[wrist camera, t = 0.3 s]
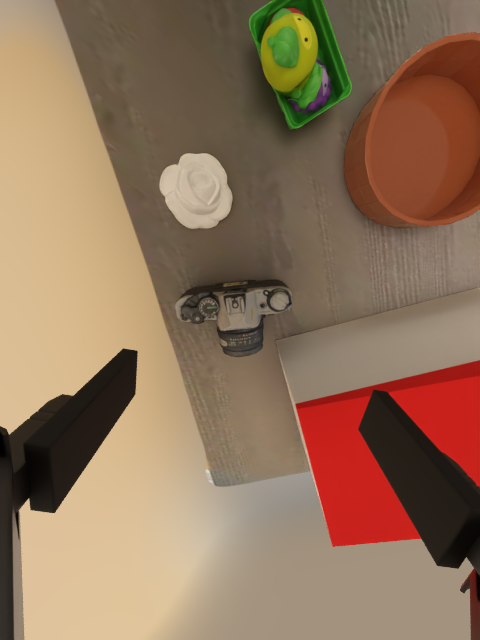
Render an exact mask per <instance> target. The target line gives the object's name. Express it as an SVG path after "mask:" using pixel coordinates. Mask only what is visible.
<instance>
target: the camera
mask: <svg viewBox="0 0 480 640" xmlns="http://www.w3.org/2000/svg"><path fill="white" fill-rule="evenodd" d="M291 306H292V293H291V290H290V289H289V288H288V287H287V285H286V284H285V283H283V282H282V281H280V280H265V281H255V280H246V281H243V282H233V283H221V284H216V285H215V286H207V287H195V288H193V289H190V290H187V291H186V292H185V293H184V294H183V295H182V296H181V297H180V298H179V299H178V300H177V303H176V304H175V311H176V315H177V317H178V318H179V319H180V320H182V321H187V322H192V323H195V324H199V323H202V322H204V320H216V325H217V332H218V335H219V337H220V345H221V347H222V348H223V352H224V353H225V354H227V355H230V356H233V357H243V356H249V355H252V354H255V353H257V352H258V351H260V350H261V349H262V347H263V344H262V342H263V318H265V315H266V314H267V315H274V314H275V313H281V312H284V311H286V310H288V311H289V310H290V307H291Z"/></svg>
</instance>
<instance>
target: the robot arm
mask: <svg viewBox="0 0 480 640" xmlns="http://www.w3.org/2000/svg"><path fill="white" fill-rule="evenodd" d="M136 371H137V351H135V350H129V349H122V350H121V351H120V352H119V353H118V354H117V355H116V356H115V357H114V358H113V359H112V360H111V361H110V362H109V363H108V364H107V365H106V366H104V367H103V368H102V369H101V370H100V371H99V372H98V373H97V374H96V375H95V376H94V377H93V378H92V379H91V380H90V381H89V382H88V383H86V384H85V385H84V386H83V387H82V388H81V389H80V390H79V391H78V392H77V393H76V394H75V395H74V396H70V395H63V394H62V395H60V396H58V397H56V398H54V399H52V400H50V401H48V402H47V403H46V404H45V405H44V406H43V407H41V408H40V409H39V411H38V412H36V413H34V414H33V415H32V416H31V417H30V419H27V420H26V421H25V422H24V423H23V424H22V425H20V426H19V427H18V428H17V429H16V430H14V432H12V433H11V434H10V435H9V434H8V432H7V429H5V428H3V427H1V426H0V640H24V622H23V593H22V564H21V537H20V514H19V509H20V508H21V507H22V506H23V504H24V503H25V502H26V501H27V499H28V498H29V499H30V508H31V510H35V511H42V512H49V513H55V512H56V510H57V509H58V507H59V506H60V504H61V503H62V501H63V500H64V498H65V497H66V495H67V494H68V492H69V491H70V490H71V488H72V486H73V485H74V484H75V482H76V481H77V479H78V478H79V476H80V475H81V473H82V472H83V470H84V469H85V468H86V466H87V465H88V463H89V462H90V460H91V459H92V457H93V456H94V454H95V453H96V451H97V450H98V448H99V447H100V445H101V444H102V442H103V441H104V439H105V438H106V436H107V435H108V434H109V432H110V431H111V429H112V428H113V426H114V425H115V423H116V422H117V420H118V419H119V417H120V416H121V414H122V413H123V411H124V410H125V408H126V407H127V406H128V404H129V403H130V401H131V400H132V398H133V397H134V395H135V390H136ZM358 430H359V432H360V433H361V435H362V437H363V439H364V440H365V442H366V444H367V446H368V447H369V449H370V451H371V452H372V454H373V456H374V458H375V459H376V461H377V463H378V464H379V466H380V468H381V470H382V471H383V473H384V475H385V477H386V478H387V480H388V482H389V483H390V485H391V487H392V489H393V490H394V492H395V494H396V496H397V497H398V499H399V501H400V502H401V504H402V506H403V508H404V509H405V511H406V513H407V515H408V516H409V518H410V520H411V521H412V523H413V525H414V527H415V528H416V530H417V532H418V533H419V535H420V537H421V539H422V540H423V542H424V543H425V546H426V547H427V549H428V551H429V552H430V554H431V556H432V558H433V559H434V561H435V563H436V565H437V566H443V567H450V568H459V567H460V565H461V564H462V562H463V561H464V559H465V558H466V557H467V558H468V560H469V561H470V562H471V564H472V566H473V567H474V569H473V571H472V572H471V574H470V575H469V576H468V578H467V579H466V580H465V582H464V583H463V585H462V586H461V589H460V591H461V592H463V593H465V591H466V590H467V589H470V611H471V612H470V615H471V640H480V487H479V486H477V485H476V483H475V482H474V481H473V480H472V478H471V477H470V476H468V474H467V473H466V472H465V471H464V470H463V469H462V468H461V467H460V466H459V464H458V463H457V462H455V461H454V460H453V459H451V458H450V457H449V456H448V455H446V454H445V453H443V452H441V451H440V450H439V449H438V448H437V447H436V446H435V445H434V443H433V442H432V441H431V440H430V439H429V438H428V437H427V436H426V435H425V433H424V432H423V431H422V430H421V429H420V428H419V427H418V426H417V425H416V423H415V422H414V421H413V420H412V419H411V418H410V417H409V416H408V415H407V413H406V412H405V411H404V410H403V409H402V408H401V407H400V406H399V405H398V403H397V402H396V401H395V400H394V399H393V398H392V397H391V396H390V395H389V393H388V392H386V391H380V390H373V392H372V395H371V397H370V400H369V402H368V405H367V407H366V410H365V413H364V415H363V418H362V420H361V423H360V425H359V428H358Z"/></svg>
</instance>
